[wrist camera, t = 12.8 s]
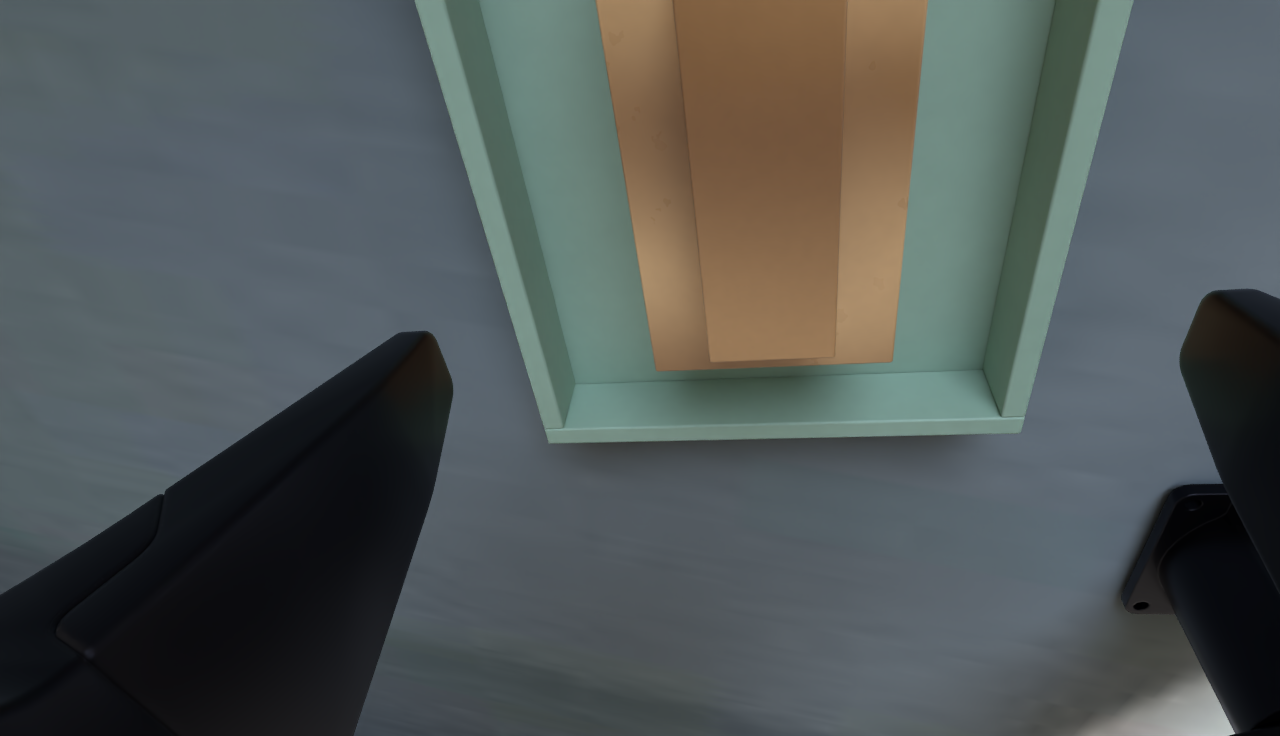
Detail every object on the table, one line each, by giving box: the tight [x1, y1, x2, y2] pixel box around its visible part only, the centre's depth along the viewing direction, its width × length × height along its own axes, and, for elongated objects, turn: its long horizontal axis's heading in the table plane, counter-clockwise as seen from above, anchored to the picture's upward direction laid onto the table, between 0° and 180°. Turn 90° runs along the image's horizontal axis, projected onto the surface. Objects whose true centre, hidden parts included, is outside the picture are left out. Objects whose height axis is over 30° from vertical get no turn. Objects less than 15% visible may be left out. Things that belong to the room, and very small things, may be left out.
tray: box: [415, 0, 1134, 444], centre depth 16 cm, size 18×13×2 cm
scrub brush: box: [595, 0, 928, 372], centre depth 14 cm, size 10×5×5 cm, turn 8°
